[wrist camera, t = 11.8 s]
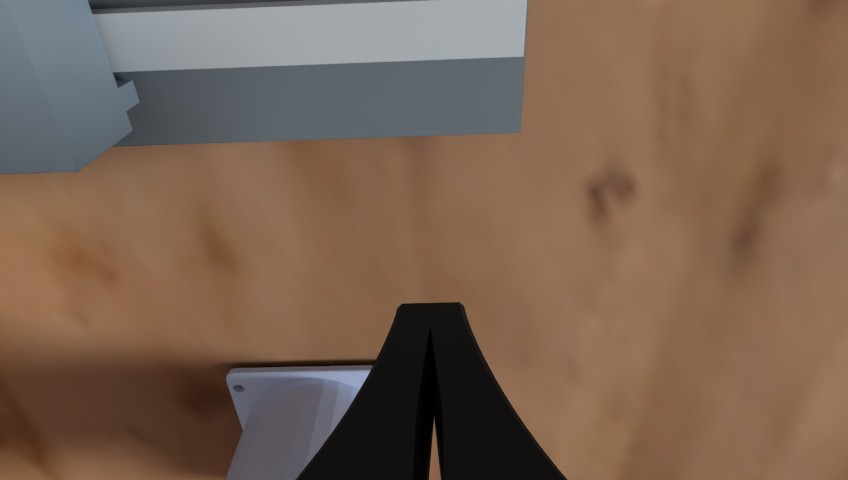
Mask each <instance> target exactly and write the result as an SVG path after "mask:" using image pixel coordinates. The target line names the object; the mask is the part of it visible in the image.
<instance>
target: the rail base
mask: <svg viewBox="0 0 848 480" xmlns="http://www.w3.org/2000/svg"><path fill="white" fill-rule="evenodd" d="M88 3H89V6H90V9H91V11H92V14H93V17H94V20H95V23H96V26H97V29H98V32H99V35H100V37H101V40H102V43H103V46H104V49H105V52H106V55H107V58H108V61H109V63H110V66H111V69H112V72H113V75H114V78H115V81H118V80H133V83H134V86H135V89H136V92H137V95H138V98H139V101H140V102H139V103H138V104H136V105H135V106H133V107H132V108H131V109H129V110H128V111H126V113H127V115H128V118H129V121H130V124H131V127H132V130H133V131H131V132H130V133H129V134H127V135H126V136H125V137H123V138H122V139H121V140H119V141H118V142H117V143H115V144H114V145H113V146H143V145H172V144H202V143H231V142H261V141H290V140H320V139H349V138H379V137H408V136H438V135H467V134H497V133H520V131H521V114H522V98H523V81H524V64H525V47H526V30H527V13H528V0H88ZM113 146H111V147H113Z"/></svg>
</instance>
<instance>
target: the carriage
mask: <svg viewBox="0 0 848 480" xmlns="http://www.w3.org/2000/svg"><path fill="white" fill-rule="evenodd" d="M139 102H140V101H139V98H138V95H137V92H136V89H135V86H134V83H133V80H118V81H115V78H114V75H113V72H112V69H111V66H110V63H109V61H108V58H107V55H106V52H105V49H104V46H103V43H102V40H101V37H100V35H99V32H98V29H97V26H96V23H95V20H94V17H93V14H92V11H91V9H90V6H89V3H88V0H0V174H20V173H51V172H78V171H80V170H81V169H82V168H84V167H85V166H86V165H88V164H89V163H90V162H92V161H93V160H94V159H96V158H97V157H98V156H100V155H101V154H102V153H103V152H105V151H106V150H107V149H109V148H110V147H111V146H113V145H114V144H115V143H117V142H118V141H119V140H121V139H122V138H123V137H125V136H126V135H127V134H129V133H130V132H131V131H133V130H132V127H131V124H130V121H129V118H128V115H127V113H126V111H128V110H129V109H131V108H132V107H133V106H135V105H136V104H138V103H139Z"/></svg>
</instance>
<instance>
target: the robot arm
mask: <svg viewBox="0 0 848 480" xmlns="http://www.w3.org/2000/svg"><path fill="white" fill-rule="evenodd" d="M226 382H227V385H228V388H229V391H230V394H231V397H232V400H233V403H234V406H235V409H236V412H237V415H238V418H239V421H240V424H241V427H242V430H243V431H242V434H241V437H240V440H239V442H238V445H237V448H236V451H235V454H234V456H233V459H232V462H231V465H230V468H229V470H228V473H227V476H226V479H225V480H429V469H430V458H431V446H432V435H433V423H434V419H435V428H436V437H437V447H438V456H439V465H440V474H441V480H567V479H566V477H565V476H564V475H563V474H562V473H561V472H560V471H559V469H558V468H557V467H556V466H555V464H554V463H553V462H552V461H551V459H550V458H549V457H548V456H547V454H546V453H545V452H544V451H543V449H542V448H541V447H540V445H539V444H538V443H537V441H536V440H535V439H534V437H533V436H532V434H531V433H530V432H529V430H528V429H527V428H526V426H525V425H524V423H523V422H522V420H521V419H520V417H519V416H518V414H517V413H516V411H515V410H514V408H513V407H512V405H511V404H510V402H509V400H508V399H507V397H506V396H505V394H504V392H503V391H502V389H501V387H500V386H499V384H498V382H497V381H496V379H495V377H494V375H493V373H492V371H491V370H490V368H489V366H488V364H487V362H486V360H485V358H484V356H483V354H482V352H481V350H480V348H479V346H478V344H477V342H476V339H475V337H474V335H473V332H472V330H471V327H470V325H469V322H468V319H467V316H466V312H465V308H464V306H463V305H462V304H461V303H459V302H453V303H412V304H402V305H400V306H399V307H398V308H397V312H396V315H395V318H394V321H393V324H392V326H391V329H390V331H389V334H388V336H387V338H386V340H385V343H384V345H383V347H382V349H381V351H380V353H379V355H378V357H377V359H376V361H375V363H374V365H356V366H308V367H261V368H233V369H231V370H229V372H228V374H227V376H226ZM239 385H241V386H239Z"/></svg>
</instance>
